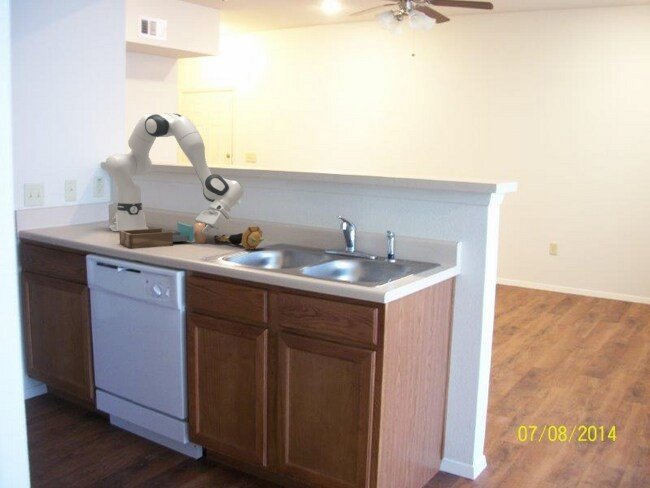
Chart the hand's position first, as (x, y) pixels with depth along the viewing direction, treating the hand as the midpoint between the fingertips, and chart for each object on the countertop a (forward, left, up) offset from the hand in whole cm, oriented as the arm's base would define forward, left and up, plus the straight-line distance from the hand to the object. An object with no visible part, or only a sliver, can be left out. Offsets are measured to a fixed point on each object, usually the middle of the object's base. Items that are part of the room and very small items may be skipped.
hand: (199, 232), depth 287 cm
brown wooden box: (-5, -22, -5) cm, 23 cm away
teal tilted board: (-5, -14, -3) cm, 15 cm away
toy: (+17, +11, -5) cm, 21 cm away
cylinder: (0, +1, -5) cm, 5 cm away
